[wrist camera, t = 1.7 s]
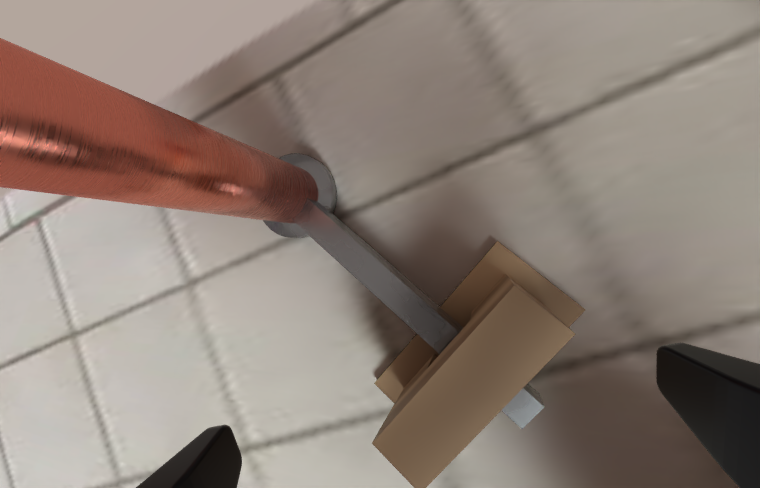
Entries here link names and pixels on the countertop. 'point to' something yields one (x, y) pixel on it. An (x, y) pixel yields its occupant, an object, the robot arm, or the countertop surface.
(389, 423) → the eye bracket
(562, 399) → the countertop surface
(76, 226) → the countertop surface
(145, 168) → the copper pillar
